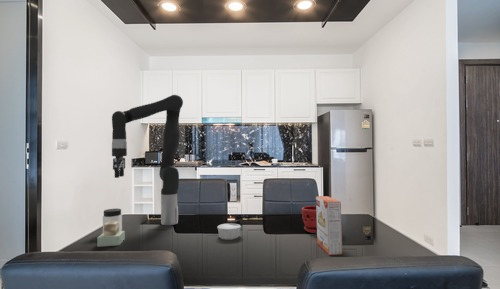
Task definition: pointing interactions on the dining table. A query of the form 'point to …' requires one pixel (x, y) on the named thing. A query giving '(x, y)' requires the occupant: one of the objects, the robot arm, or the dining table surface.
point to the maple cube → (111, 228)
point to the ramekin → (229, 231)
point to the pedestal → (111, 239)
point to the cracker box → (329, 225)
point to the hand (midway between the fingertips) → (119, 177)
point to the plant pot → (312, 221)
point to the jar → (112, 217)
